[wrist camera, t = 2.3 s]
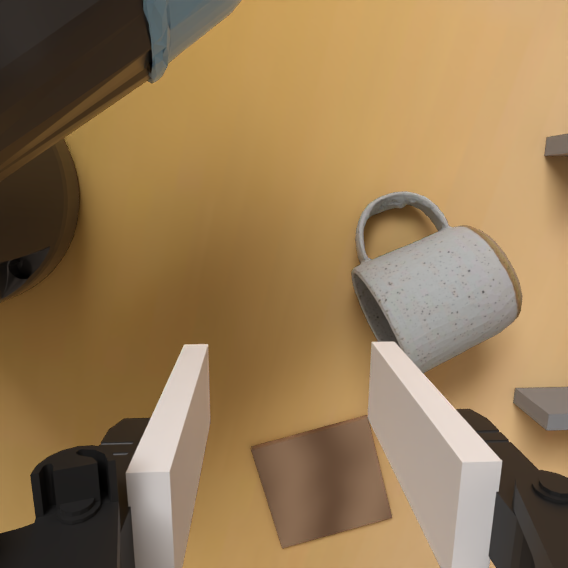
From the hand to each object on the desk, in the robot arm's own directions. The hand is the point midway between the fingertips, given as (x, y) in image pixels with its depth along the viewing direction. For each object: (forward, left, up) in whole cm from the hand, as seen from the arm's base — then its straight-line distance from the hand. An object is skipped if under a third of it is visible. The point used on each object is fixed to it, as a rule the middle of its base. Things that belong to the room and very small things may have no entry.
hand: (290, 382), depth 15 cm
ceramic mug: (+9, +1, -17) cm, 19 cm away
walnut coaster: (+4, -16, -17) cm, 24 cm away
